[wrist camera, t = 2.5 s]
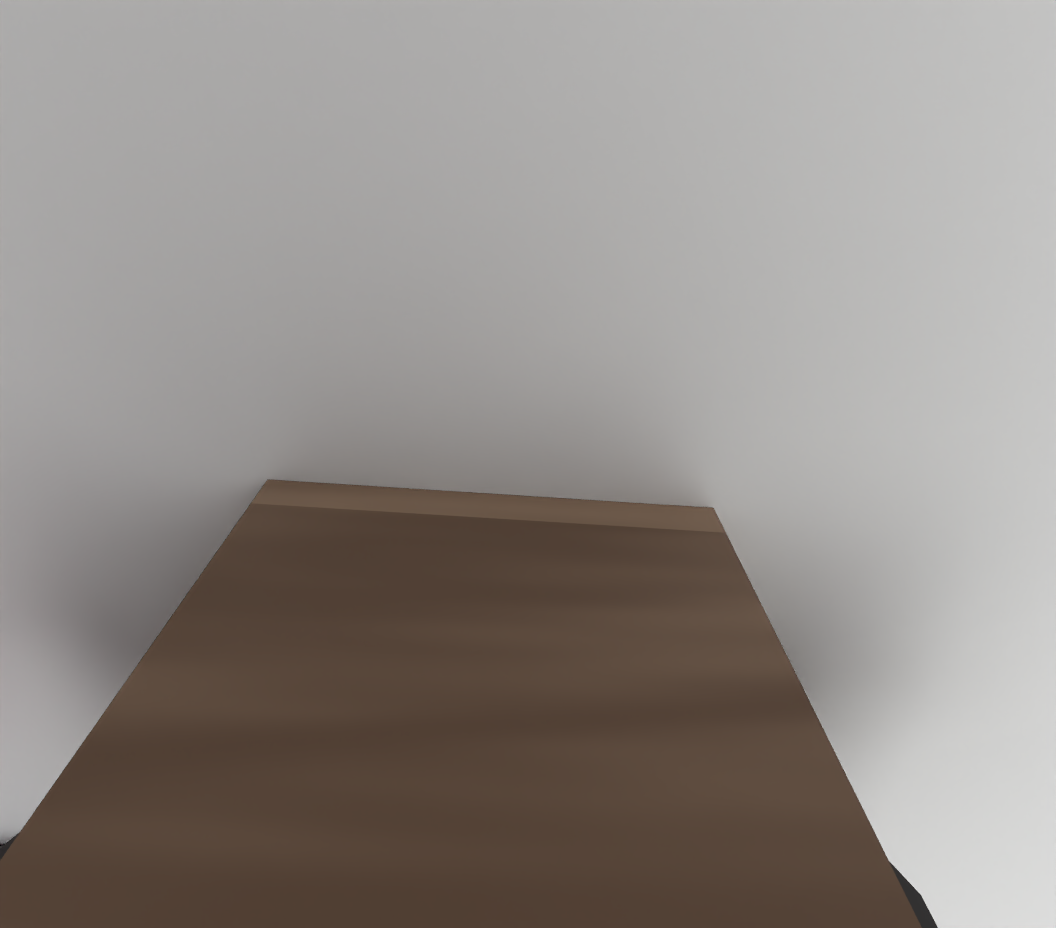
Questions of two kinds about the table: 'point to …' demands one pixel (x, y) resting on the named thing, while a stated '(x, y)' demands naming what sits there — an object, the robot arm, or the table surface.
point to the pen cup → (457, 736)
